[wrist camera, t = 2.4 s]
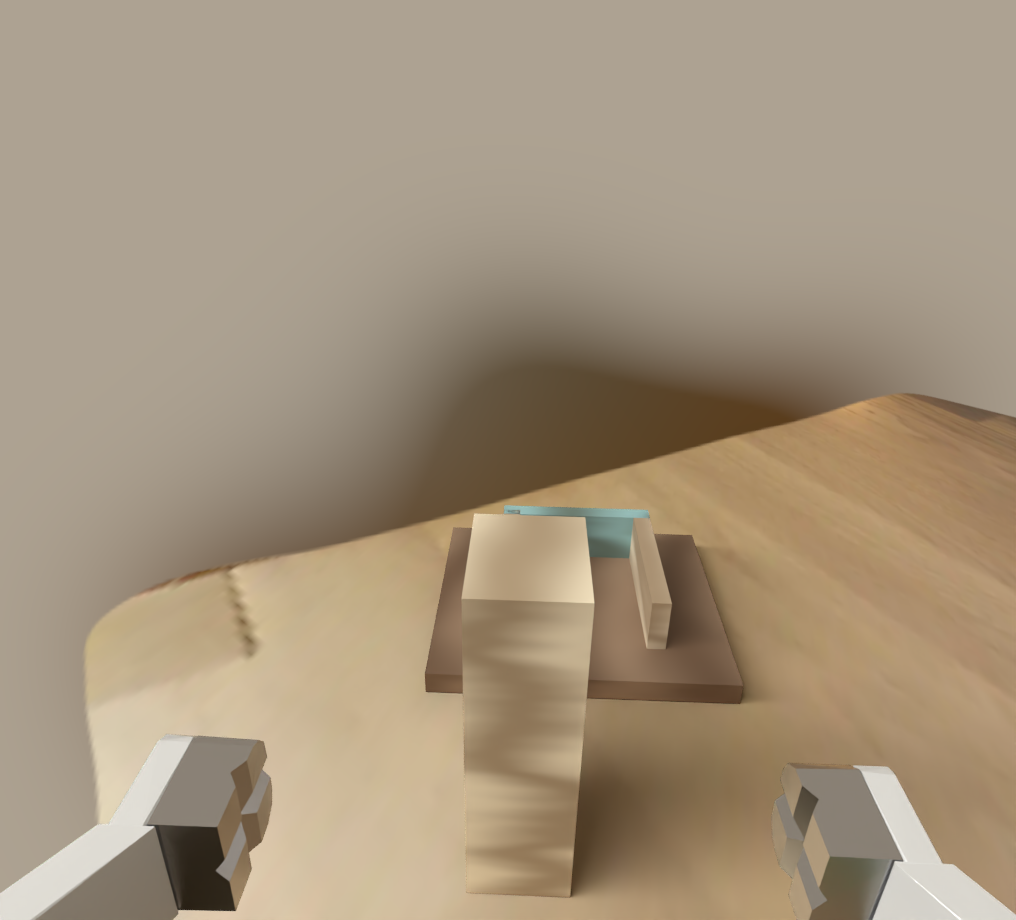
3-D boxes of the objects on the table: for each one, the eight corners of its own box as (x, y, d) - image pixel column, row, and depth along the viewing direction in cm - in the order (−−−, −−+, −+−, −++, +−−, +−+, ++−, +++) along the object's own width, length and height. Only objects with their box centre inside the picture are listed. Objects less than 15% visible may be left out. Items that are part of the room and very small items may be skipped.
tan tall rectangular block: (565, 787, 33) (585, 517, 27) (570, 897, 28) (594, 603, 22) (475, 784, 33) (474, 513, 27) (466, 892, 29) (461, 598, 22)
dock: (689, 550, 50) (697, 496, 48) (739, 703, 38) (753, 638, 36) (453, 542, 51) (452, 488, 49) (425, 691, 38) (422, 626, 36)
